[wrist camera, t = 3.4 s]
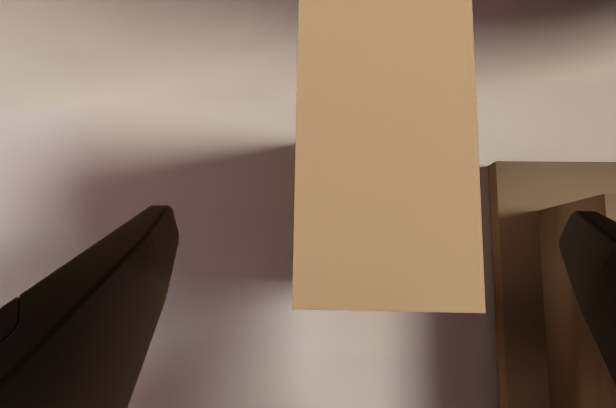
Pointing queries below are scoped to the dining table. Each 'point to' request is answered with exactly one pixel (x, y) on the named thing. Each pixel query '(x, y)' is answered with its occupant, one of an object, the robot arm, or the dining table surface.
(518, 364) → the slot rack
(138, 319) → the robot arm
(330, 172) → the tan rectangular block
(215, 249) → the dining table surface
